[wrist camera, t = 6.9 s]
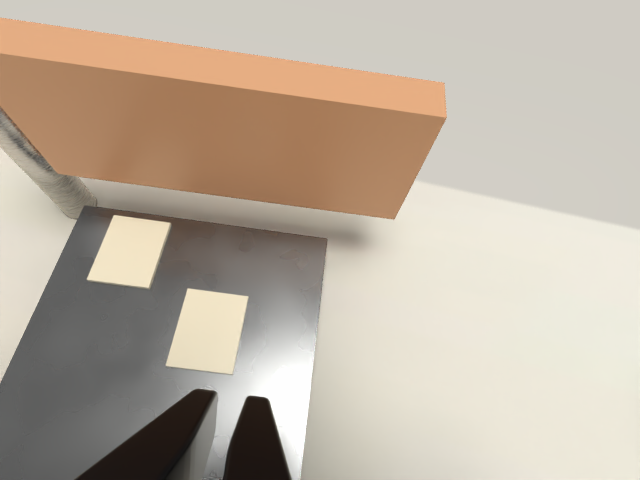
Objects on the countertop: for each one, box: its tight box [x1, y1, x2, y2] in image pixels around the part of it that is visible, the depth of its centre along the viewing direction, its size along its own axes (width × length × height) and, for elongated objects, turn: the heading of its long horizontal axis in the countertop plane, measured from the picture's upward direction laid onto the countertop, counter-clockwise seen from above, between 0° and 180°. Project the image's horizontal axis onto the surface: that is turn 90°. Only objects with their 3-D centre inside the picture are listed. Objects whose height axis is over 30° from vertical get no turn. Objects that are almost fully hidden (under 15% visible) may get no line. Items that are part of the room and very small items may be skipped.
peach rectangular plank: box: [0, 18, 447, 219], centre depth 14 cm, size 2×14×6 cm, turn 84°
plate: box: [0, 106, 327, 480], centre depth 13 cm, size 14×14×10 cm
